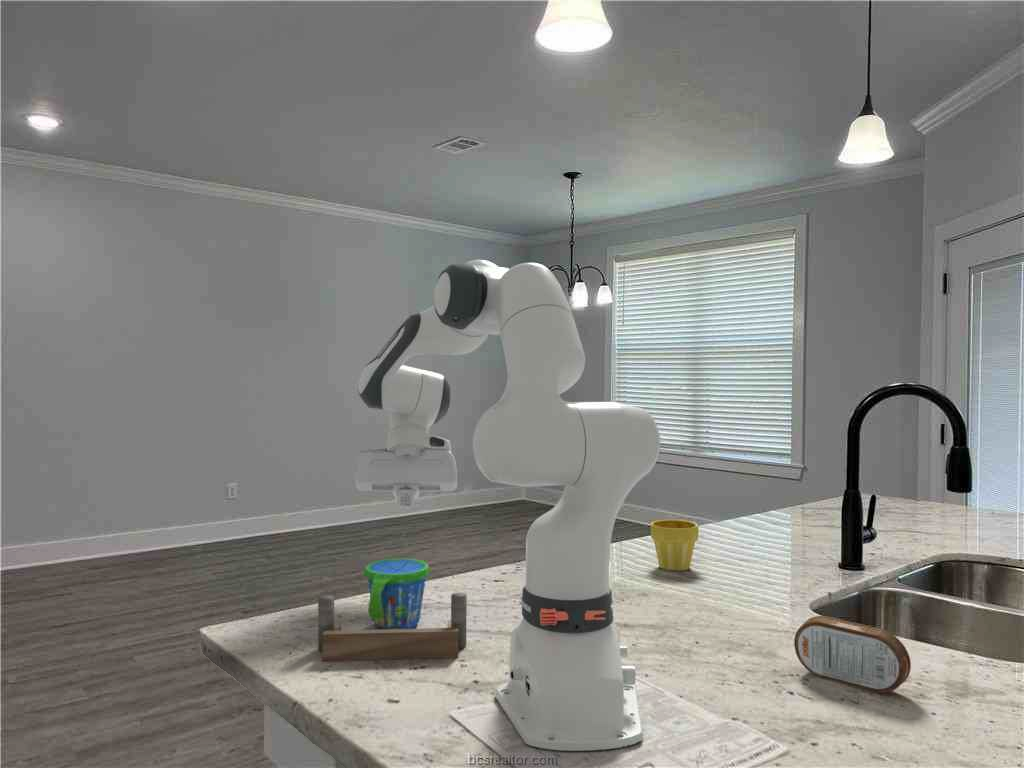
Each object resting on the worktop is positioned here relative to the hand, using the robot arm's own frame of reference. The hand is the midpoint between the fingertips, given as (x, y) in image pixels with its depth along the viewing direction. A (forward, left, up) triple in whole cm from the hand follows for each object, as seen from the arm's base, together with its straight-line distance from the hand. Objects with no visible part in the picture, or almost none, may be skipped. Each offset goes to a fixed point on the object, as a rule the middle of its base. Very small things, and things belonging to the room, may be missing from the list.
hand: (405, 507), depth 148 cm
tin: (-48, -64, -17) cm, 81 cm away
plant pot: (+16, -59, -17) cm, 63 cm away
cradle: (-30, 0, -17) cm, 34 cm away
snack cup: (-19, 0, -17) cm, 26 cm away
